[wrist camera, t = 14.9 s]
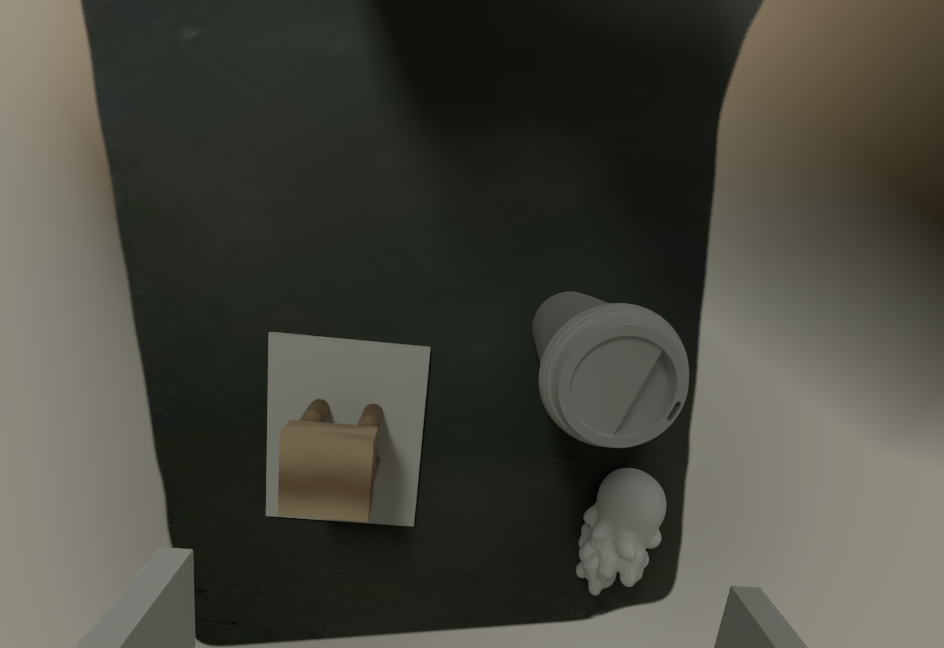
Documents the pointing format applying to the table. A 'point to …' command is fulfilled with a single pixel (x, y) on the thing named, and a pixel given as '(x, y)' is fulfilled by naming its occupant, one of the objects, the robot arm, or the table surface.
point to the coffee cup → (608, 369)
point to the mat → (353, 408)
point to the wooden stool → (328, 465)
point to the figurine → (620, 529)
